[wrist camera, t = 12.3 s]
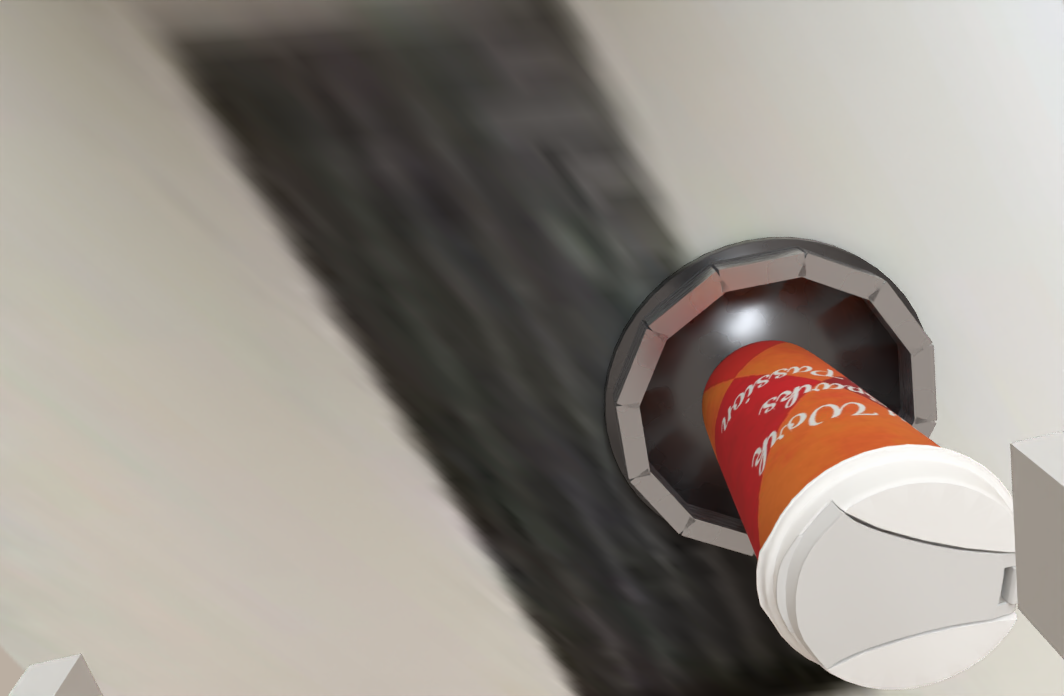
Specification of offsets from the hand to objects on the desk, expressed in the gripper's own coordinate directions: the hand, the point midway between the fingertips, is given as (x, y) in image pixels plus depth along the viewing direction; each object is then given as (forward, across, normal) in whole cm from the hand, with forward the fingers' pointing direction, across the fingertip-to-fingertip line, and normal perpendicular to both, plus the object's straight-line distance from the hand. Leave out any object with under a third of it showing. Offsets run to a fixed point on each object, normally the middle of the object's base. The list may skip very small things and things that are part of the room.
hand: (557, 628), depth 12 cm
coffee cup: (+26, +9, -11) cm, 30 cm away
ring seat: (+27, +9, -11) cm, 30 cm away
